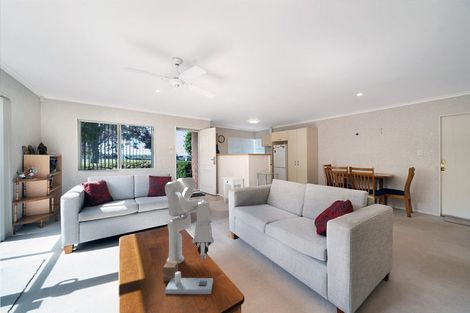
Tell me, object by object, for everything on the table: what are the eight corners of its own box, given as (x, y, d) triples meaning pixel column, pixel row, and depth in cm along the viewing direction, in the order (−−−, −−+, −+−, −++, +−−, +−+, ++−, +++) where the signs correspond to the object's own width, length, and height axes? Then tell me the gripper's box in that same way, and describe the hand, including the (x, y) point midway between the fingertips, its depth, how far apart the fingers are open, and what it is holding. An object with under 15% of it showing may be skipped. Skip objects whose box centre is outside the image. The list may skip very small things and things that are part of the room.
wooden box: (167, 274, 122) (167, 260, 122) (177, 274, 121) (177, 260, 122) (163, 281, 115) (163, 266, 115) (174, 281, 114) (174, 266, 115)
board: (171, 281, 114) (171, 268, 114) (213, 282, 114) (213, 268, 114) (165, 293, 104) (165, 278, 104) (210, 293, 104) (210, 278, 104)
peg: (200, 256, 111) (200, 239, 111) (206, 256, 111) (206, 239, 111) (199, 259, 107) (199, 242, 108) (205, 259, 107) (205, 242, 108)
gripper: (217, 220, 113) (217, 250, 113) (191, 220, 114) (190, 249, 113) (216, 224, 106) (216, 256, 105) (187, 224, 106) (187, 256, 106)
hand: (203, 252), depth 109 cm, fingers closed on peg, 3 cm apart
